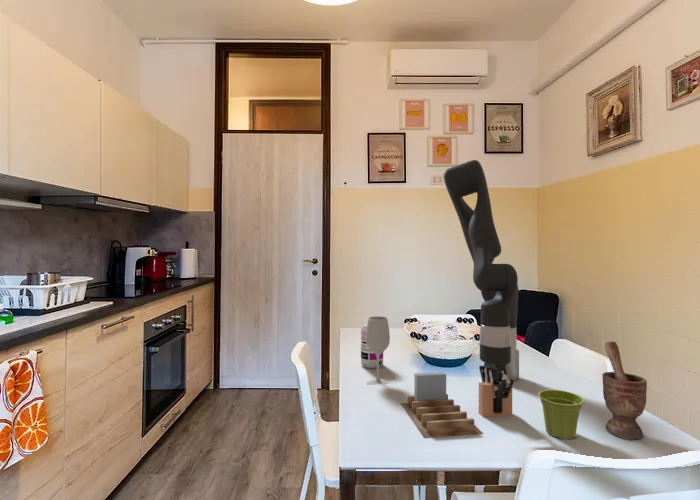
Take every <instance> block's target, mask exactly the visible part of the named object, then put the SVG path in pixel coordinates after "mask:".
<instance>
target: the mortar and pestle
mask: <svg viewBox="0 0 700 500" xmlns="http://www.w3.org/2000/svg"><path fill="white" fill-rule="evenodd" d="M604 348H605V352H606V355H607V357H608V359H609V361H610V365H611V368H612V370H613V371H605V372H603V373H602V375H601V376H602V393H603V394H602V395H603V400H604V403H605V407H606V408H607V410H608V411H609V412H610V413H611V414H612V418H610V419H609V420H607V421H606V424H605V431H607V432H608V433H610V434H612V435H615V436H616V437H619V438H622V439H625V440H628V441H629V440H637V439H642V438H644V433H643V430H642V428H641V426H640V425H639V424H638V422H637V421H636V420H637V418H638V417H640V416H641V415H643V413H644V411H645V407H646V404H647V392H648V391H647V390H648V389H647V388H648V382H647V381H648V380H647V379H645V378H644V377H642V376H639V375H636V374H631V373H626V372H625V370H624V368H623V364H622V363H623V362H622V359H621V354H620V349H619V346H618V344H617V343H616V342H615V341H608V342H607V341H606V342H605V343H604Z"/></svg>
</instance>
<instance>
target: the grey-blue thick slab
mask: <svg viewBox="0 0 700 500" xmlns="http://www.w3.org/2000/svg"><path fill="white" fill-rule="evenodd" d="M413 376H414V380H413V381H414V401H429V400H446V394H447V373H445V372H444V371H434V372H433V371H432V372H416V373H414V375H413Z"/></svg>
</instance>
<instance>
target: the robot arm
mask: <svg viewBox="0 0 700 500" xmlns="http://www.w3.org/2000/svg"><path fill="white" fill-rule="evenodd" d="M443 181H444V184H445V188H446V190H447V193H448V195H449V197H450V199H451V202H452V205H453V207H454V210H455V212H456V215H457V217H458V220H459V223H460V226H461V229H462V233H463V236H464V240H465V242H466V245H467V249H468V251H469V254H470V256H471V259H472V262H473V270H472V271H473V274H472V277H473V278H472V279H473V283H474V285H475V287H476V288H477V289H478V290H479V291H480V293H481V297H482V299H483V300H484V301H483V302H482V303H481V306H480V328H479V360H480V361H481V362H483V363H484V364H483V365H479V366H478V367H479V368H478V369H479V373H480V377H481V381H482V382H490V383H491V388H492V389H493V412H494V413H502V399H503V398H508V396H509V393H510V390H511V388H512V389H513V385H514V381H517V380H520V351H519V349H518V348H517V321H518V307H519V305H518V304H519V285H518V281H519V278H518V273H517V271H516V269H515V267H514V266H513V265H512V264H509V263H493V262H494V261H495V259H496V258H497V257H499V256H500V255H501V252H502V247H501V243H500V238H499V236H498V232H497V229H496V225H495V222H494V217H493V211H492V203H491V199H490V194H489V192H490V191H489V188H488V183H487V179H486V175H485V172H484V168H483V166H482V164H481V163H480V161H478V160H477V159H472V160H468V161H466V162H463V163H461V164H457V165H454V166H451V167H448V168H446V169H445V170H444V171H443ZM473 194H477V195H476V196H477V197H476V199H477V200H476V202H475V203H476V204H475V207H474V209H472V207H471V206H470V205H469V204H468V203H467V202H466V201H465V199H464V197H467V196H469V195H473ZM482 382H481V383H482ZM495 384H500V385H495ZM497 389H498V391H497Z"/></svg>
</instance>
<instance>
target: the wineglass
mask: <svg viewBox="0 0 700 500" xmlns="http://www.w3.org/2000/svg"><path fill="white" fill-rule="evenodd" d="M367 323H368V324H367V331H366V343H367V346H368V347H369V348H370V350H371V351H372V352H374V353H375V354H376V357H377V368H376V377H375V379H370V380H368V381H366V385H367V386H375V385H377V386H378V385H389V384H390V382H389V381H388V380H386V379H385V380H384V379H382V378H381V377H380V367H379V356H380V354H381V353H382V352H383V353H384V352H385V351H386V349H387V348H388V347H389V346H390V340H391V337H390V336H391V335H390V327H389V321H388V317H386V316H369V317H368V319H367Z"/></svg>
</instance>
